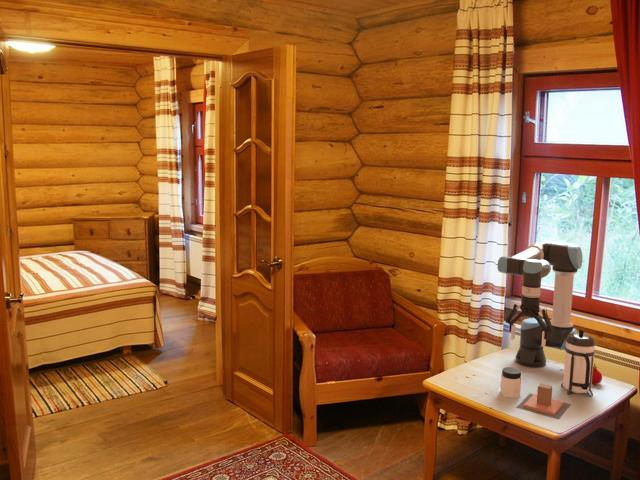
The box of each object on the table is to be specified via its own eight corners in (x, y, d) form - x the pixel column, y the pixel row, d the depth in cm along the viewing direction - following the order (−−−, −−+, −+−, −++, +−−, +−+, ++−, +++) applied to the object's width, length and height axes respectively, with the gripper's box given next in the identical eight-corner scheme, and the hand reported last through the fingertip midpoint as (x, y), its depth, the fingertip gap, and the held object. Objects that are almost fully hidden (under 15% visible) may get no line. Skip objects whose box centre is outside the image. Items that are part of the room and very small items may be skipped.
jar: (508, 400, 267) (510, 375, 265) (496, 393, 274) (497, 368, 272) (524, 396, 271) (525, 372, 268) (511, 390, 278) (512, 365, 276)
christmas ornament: (584, 379, 289) (585, 360, 288) (600, 381, 287) (601, 361, 286) (586, 385, 283) (588, 365, 281) (602, 387, 281) (604, 367, 279)
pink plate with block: (533, 396, 269) (534, 377, 268) (563, 404, 262) (564, 384, 260) (523, 407, 259) (525, 387, 258) (554, 415, 251) (555, 395, 250)
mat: (529, 394, 273) (529, 393, 273) (570, 405, 262) (570, 404, 262) (516, 408, 259) (516, 407, 259) (558, 420, 248) (558, 419, 248)
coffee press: (551, 390, 278) (555, 328, 272) (571, 382, 287) (575, 322, 281) (586, 403, 264) (591, 339, 258) (605, 394, 273) (611, 332, 267)
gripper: (499, 292, 262) (497, 338, 266) (557, 302, 246) (553, 351, 250) (506, 289, 268) (503, 334, 271) (563, 298, 252) (559, 346, 255)
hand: (527, 342), depth 260 cm, fingers open, 13 cm apart
